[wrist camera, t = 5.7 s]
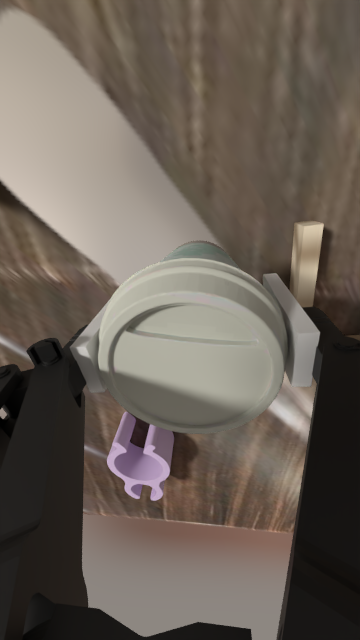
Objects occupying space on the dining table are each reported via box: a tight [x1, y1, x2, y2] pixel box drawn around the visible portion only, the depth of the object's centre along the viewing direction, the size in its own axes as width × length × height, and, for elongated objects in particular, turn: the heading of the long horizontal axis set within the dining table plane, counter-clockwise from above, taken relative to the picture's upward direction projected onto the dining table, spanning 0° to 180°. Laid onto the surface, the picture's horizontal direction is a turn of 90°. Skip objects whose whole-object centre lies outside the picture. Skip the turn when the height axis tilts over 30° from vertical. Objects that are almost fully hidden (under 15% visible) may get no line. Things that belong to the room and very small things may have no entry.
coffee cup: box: [98, 241, 288, 434], centre depth 15 cm, size 8×9×12 cm
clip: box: [107, 412, 174, 501], centre depth 51 cm, size 20×12×7 cm, turn 2°
